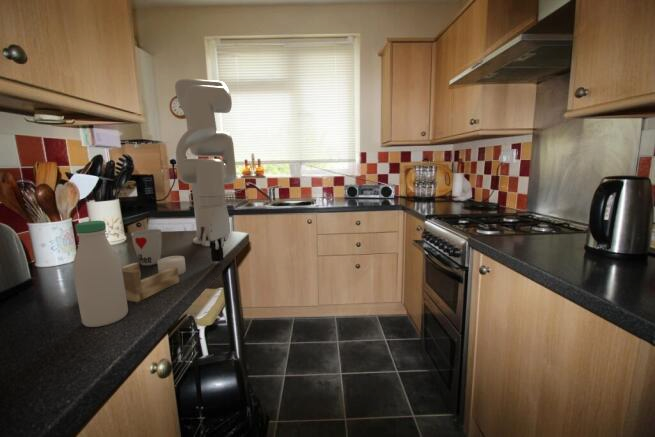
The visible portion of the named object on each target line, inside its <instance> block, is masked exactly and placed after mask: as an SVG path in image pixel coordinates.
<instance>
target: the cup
mask: <svg viewBox="0 0 655 437" xmlns="http://www.w3.org/2000/svg"><path fill="white" fill-rule="evenodd" d="M130 235H131V240H132V244H133V249H134V251H135V254H136V256H137V259H138V261H139V264H140V265H141V266H152V265H156V264H157V261H158V260H159V259H161V255H162V249H163V248H162V246H163V245H162V244H163V241H162V229H157V228H156V229H155V228H151V229H150V228H149V229H142V230H137V231H133V232H131V234H130Z"/></svg>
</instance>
